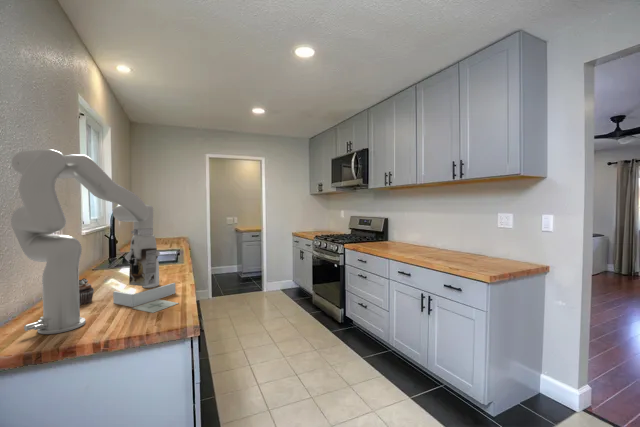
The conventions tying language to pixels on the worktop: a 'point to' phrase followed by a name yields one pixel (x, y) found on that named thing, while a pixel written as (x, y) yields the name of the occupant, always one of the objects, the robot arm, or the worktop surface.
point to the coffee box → (145, 269)
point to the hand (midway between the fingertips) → (142, 272)
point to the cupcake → (85, 291)
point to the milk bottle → (156, 276)
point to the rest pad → (155, 306)
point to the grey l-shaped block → (143, 295)
